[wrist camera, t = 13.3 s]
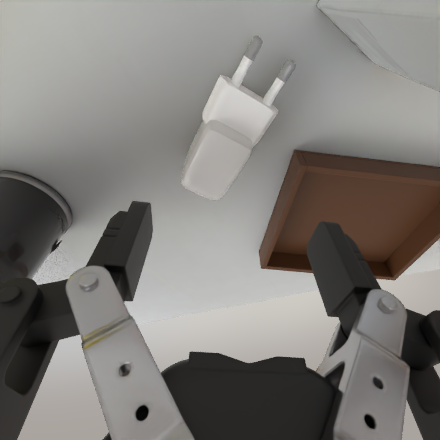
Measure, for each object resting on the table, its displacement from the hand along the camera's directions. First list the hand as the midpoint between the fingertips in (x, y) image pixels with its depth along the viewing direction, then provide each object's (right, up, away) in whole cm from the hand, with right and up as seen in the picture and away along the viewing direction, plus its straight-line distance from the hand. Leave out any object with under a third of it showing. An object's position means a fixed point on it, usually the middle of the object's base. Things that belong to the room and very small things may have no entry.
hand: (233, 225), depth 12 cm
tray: (+15, +1, +17) cm, 23 cm away
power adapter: (0, +10, +9) cm, 14 cm away
